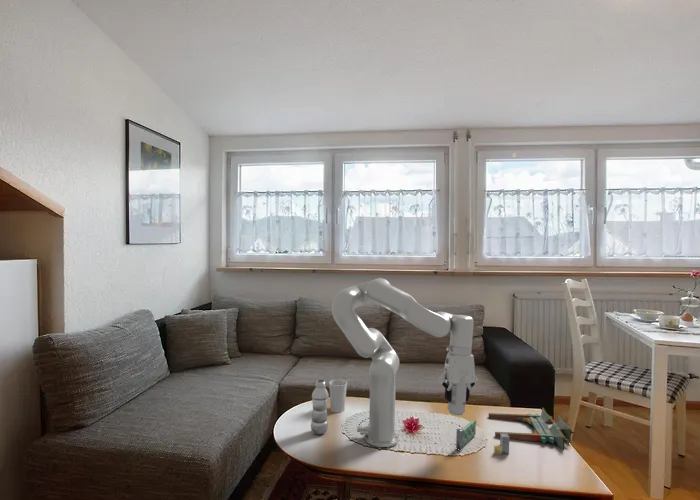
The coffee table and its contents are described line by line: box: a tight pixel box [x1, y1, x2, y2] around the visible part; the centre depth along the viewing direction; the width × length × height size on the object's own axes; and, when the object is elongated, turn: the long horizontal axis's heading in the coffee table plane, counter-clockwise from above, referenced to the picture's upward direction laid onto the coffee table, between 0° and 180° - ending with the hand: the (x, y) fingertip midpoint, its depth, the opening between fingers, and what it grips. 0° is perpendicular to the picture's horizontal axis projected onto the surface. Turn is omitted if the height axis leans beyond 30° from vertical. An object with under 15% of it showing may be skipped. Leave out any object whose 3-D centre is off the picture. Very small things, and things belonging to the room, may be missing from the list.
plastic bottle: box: [310, 379, 330, 435], centre depth 154 cm, size 6×7×20 cm
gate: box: [461, 419, 477, 447], centre depth 150 cm, size 12×1×6 cm, turn 141°
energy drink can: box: [447, 377, 467, 416], centre depth 142 cm, size 6×6×15 cm
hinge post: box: [455, 428, 464, 450], centre depth 144 cm, size 2×2×7 cm
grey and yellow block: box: [493, 434, 510, 456], centre depth 142 cm, size 5×3×6 cm, turn 86°
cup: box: [328, 379, 348, 414], centre depth 176 cm, size 8×8×12 cm
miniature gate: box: [488, 407, 576, 451], centre depth 160 cm, size 27×6×30 cm
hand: (456, 399), depth 142 cm, fingers closed on energy drink can, 6 cm apart
